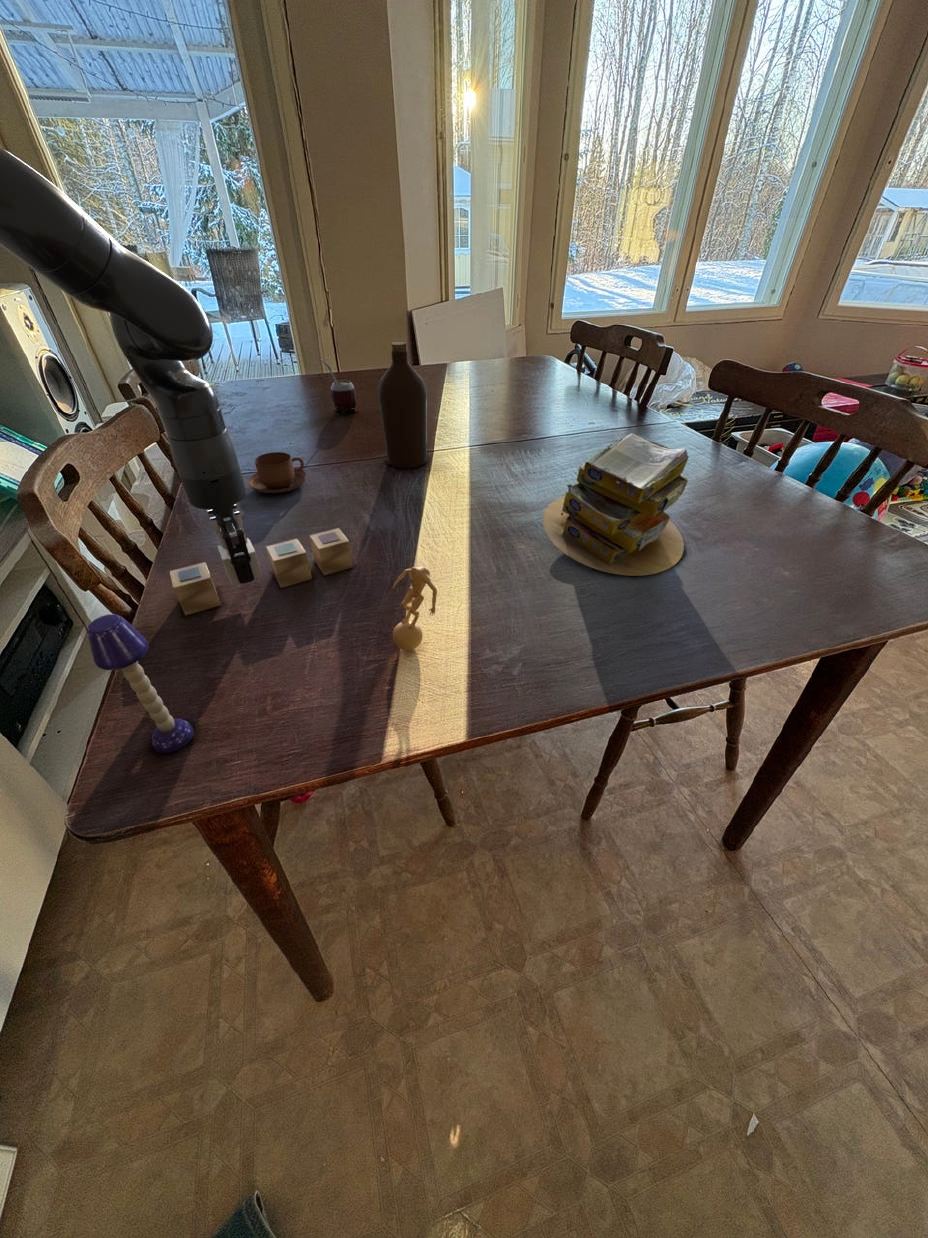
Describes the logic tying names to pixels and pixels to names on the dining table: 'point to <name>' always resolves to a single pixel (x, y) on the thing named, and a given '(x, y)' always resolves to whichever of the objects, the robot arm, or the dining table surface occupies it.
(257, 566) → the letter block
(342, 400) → the mate gourd
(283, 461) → the cup and saucer
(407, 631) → the figurine
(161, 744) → the toy lamp
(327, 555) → the block row
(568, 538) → the stacked food boxes
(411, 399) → the olive oil
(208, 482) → the robot arm
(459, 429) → the dining table surface
